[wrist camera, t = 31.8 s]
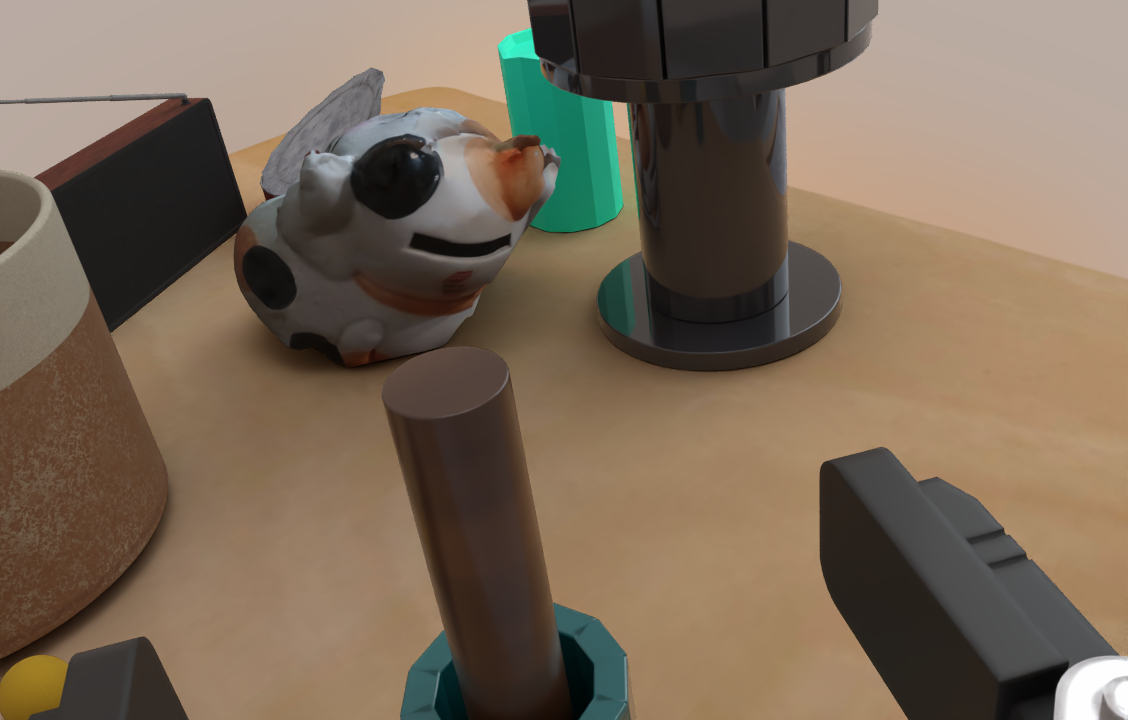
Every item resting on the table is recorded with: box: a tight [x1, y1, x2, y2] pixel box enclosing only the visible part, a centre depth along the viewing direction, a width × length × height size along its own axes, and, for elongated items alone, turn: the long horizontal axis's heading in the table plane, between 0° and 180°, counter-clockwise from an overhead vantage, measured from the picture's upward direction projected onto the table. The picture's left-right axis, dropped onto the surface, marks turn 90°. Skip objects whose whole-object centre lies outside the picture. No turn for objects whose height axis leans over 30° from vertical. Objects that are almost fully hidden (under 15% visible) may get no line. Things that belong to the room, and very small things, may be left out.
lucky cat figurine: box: [234, 107, 561, 367], centre depth 53 cm, size 15×12×14 cm
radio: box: [0, 93, 247, 333], centre depth 59 cm, size 19×3×15 cm, turn 161°
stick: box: [382, 346, 575, 720], centre depth 24 cm, size 2×2×16 cm
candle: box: [498, 28, 623, 232], centre depth 62 cm, size 6×6×12 cm
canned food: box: [260, 68, 385, 201], centre depth 68 cm, size 11×10×10 cm
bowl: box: [527, 0, 878, 371], centre depth 48 cm, size 14×14×20 cm
